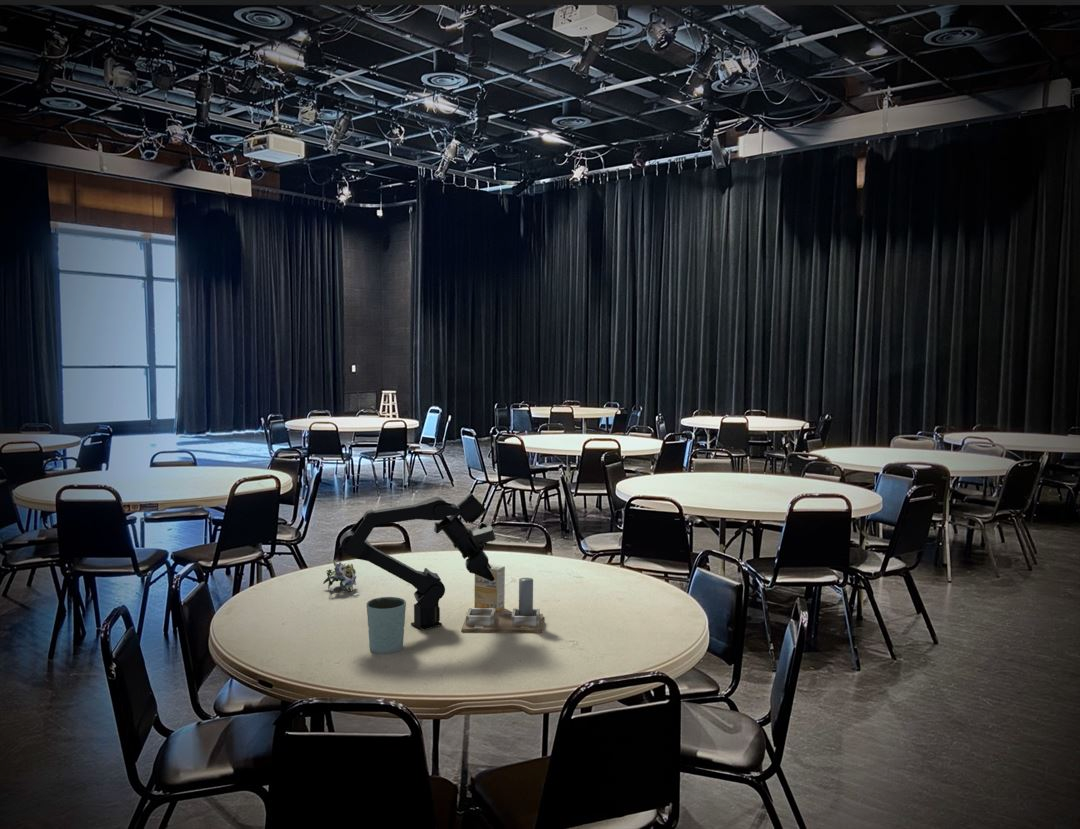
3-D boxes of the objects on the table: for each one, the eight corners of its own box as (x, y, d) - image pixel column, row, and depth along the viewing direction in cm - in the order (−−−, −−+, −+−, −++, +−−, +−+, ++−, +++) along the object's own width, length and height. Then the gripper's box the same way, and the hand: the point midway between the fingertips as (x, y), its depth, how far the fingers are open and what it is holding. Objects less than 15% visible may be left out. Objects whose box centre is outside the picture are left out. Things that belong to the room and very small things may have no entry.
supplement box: (473, 608, 238) (473, 565, 237) (482, 604, 242) (481, 562, 241) (497, 612, 234) (497, 569, 233) (505, 608, 238) (505, 565, 237)
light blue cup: (389, 638, 211) (388, 594, 210) (414, 647, 205) (414, 601, 204) (358, 649, 203) (358, 603, 203) (384, 658, 197) (383, 610, 196)
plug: (530, 624, 220) (530, 581, 220) (516, 622, 222) (517, 580, 221) (534, 620, 224) (535, 578, 223) (521, 618, 225) (521, 577, 225)
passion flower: (350, 607, 257) (350, 583, 250) (317, 601, 257) (316, 577, 250) (360, 580, 266) (361, 557, 259) (329, 574, 266) (328, 551, 259)
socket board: (461, 631, 216) (461, 619, 216) (467, 616, 230) (467, 604, 230) (541, 632, 216) (541, 620, 216) (542, 616, 230) (542, 605, 230)
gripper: (485, 526, 215) (518, 568, 218) (478, 507, 233) (509, 546, 236) (452, 551, 214) (486, 593, 218) (448, 530, 232) (479, 569, 236)
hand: (491, 574), depth 227 cm, fingers open, 9 cm apart
